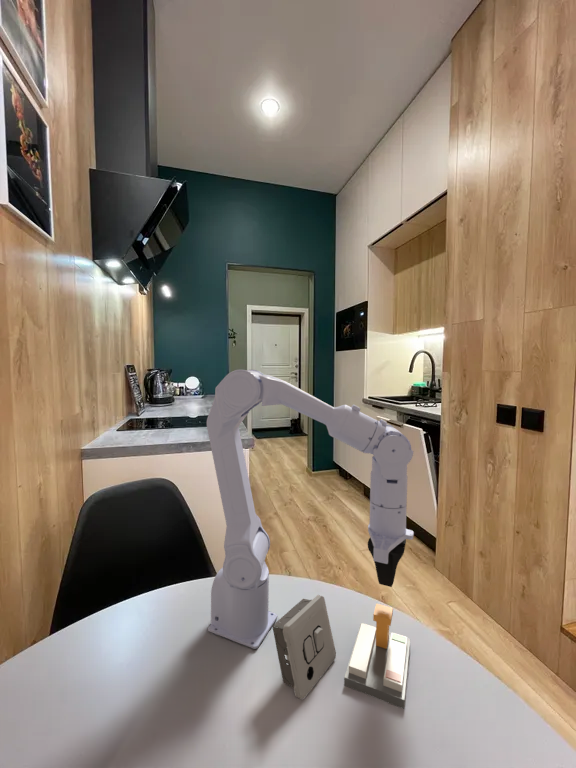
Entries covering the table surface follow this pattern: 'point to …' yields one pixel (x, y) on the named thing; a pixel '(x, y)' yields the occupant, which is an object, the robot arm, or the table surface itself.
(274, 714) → the table surface
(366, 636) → the breaker base
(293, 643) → the electrical switch
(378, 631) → the breaker handle
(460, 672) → the table surface
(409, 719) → the table surface
